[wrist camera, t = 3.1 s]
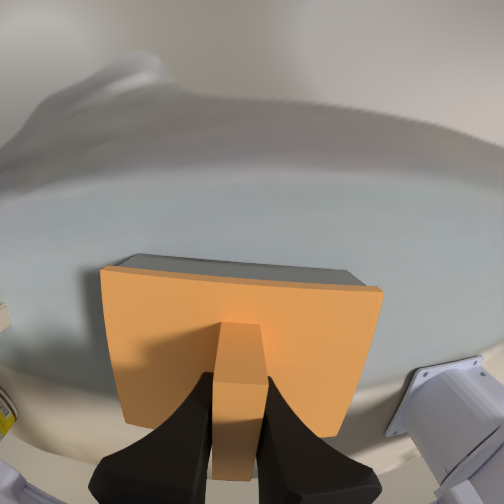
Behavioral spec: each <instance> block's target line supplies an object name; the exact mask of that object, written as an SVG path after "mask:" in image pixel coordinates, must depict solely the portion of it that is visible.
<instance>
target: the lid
mask: <svg viewBox="0 0 504 504" xmlns="http://www.w3.org/2000/svg"><path fill="white" fill-rule="evenodd" d="M100 278H101V291H102V302H103V312H104V320H105V328H106V335H107V341H108V347H109V353H110V359H111V364H112V369H113V374H114V379H115V383H116V388H117V392H118V396H119V400H120V404H121V408H122V412H123V415H124V419H125V422H126V423H128V424H132V425H136V426H141V427H145V428H150V429H156V428H157V427H158V426H160V425H161V424H162V423H163V422H164V421H165V420H167V419H168V418H169V417H170V416H171V415H172V414H173V413H174V412H175V411H176V409H177V408H178V407H179V406H180V405H181V404H182V403H183V401H184V400H185V399H186V398H187V396H188V395H189V394H190V392H191V391H192V390H193V388H194V387H195V385H196V384H197V382H198V380H199V378H200V377H201V374H202V373H203V372H213V373H214V378H213V405H212V479H214V480H227V481H251V476H252V472H253V467H254V462H255V457H256V452H257V447H258V442H259V437H260V431H261V426H262V421H263V415H264V410H265V404H266V398H267V392H268V387H269V383H268V376H270V377H271V378H272V379H273V381H274V383H275V385H276V387H277V388H278V390H279V391H280V393H281V395H282V396H283V398H284V399H285V401H286V402H287V403H288V405H289V406H290V407H291V409H292V410H293V411H294V412H295V414H296V415H297V416H298V417H299V418H300V420H301V421H302V422H303V423H304V424H305V425H306V426H307V427H308V428H309V429H310V430H311V431H312V432H313V433H314V434H315V435H317V436H318V437H319V438H324V437H333V436H337V433H338V431H339V429H340V427H341V424H342V422H343V420H344V417H345V415H346V413H347V410H348V408H349V405H350V403H351V400H352V398H353V395H354V392H355V390H356V387H357V384H358V382H359V379H360V376H361V373H362V370H363V367H364V364H365V361H366V358H367V355H368V352H369V349H370V345H371V342H372V339H373V335H374V332H375V328H376V324H377V321H378V317H379V313H380V309H381V305H382V301H383V297H384V291H382V290H381V289H380V288H378V287H377V286H356V285H336V284H318V283H302V282H287V281H272V280H258V279H245V278H233V277H221V276H209V275H198V274H187V273H177V272H166V271H157V270H147V269H137V268H128V267H119V266H111V265H107V266H106V267H104V268H102V269H101V270H100Z"/></svg>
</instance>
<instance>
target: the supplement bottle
mask: <svg viewBox="0 0 504 504" xmlns="http://www.w3.org/2000/svg"><path fill="white" fill-rule="evenodd" d="M17 418H18V413H17V410H16V408H15V406H14V404H13V403H12V401H11V400H10V399H9V397H8V396H7V395H6V394H5V393H4V392H3V391H2V390H1V389H0V441H1V440H2V439H3V437H4V436H5V435H6V433H7V432H8V431H9V429H10V428H11V427H12V425H13V424H14V423H15V422H16V420H17Z"/></svg>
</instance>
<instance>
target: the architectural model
mask: <svg viewBox="0 0 504 504" xmlns="http://www.w3.org/2000/svg"><path fill="white" fill-rule="evenodd" d="M9 325H11V321H10V317H9V313H8V309H7V306H5V303H2V302H0V332H1V331H2V330H4V329H5V328H7V327H8V326H9Z"/></svg>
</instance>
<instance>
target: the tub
mask: <svg viewBox="0 0 504 504" xmlns="http://www.w3.org/2000/svg"><path fill="white" fill-rule="evenodd" d="M119 267H128V268H137V269H147V270H157V271H166V272H177V273H187V274H198V275H209V276H221V277H233V278H245V279H258V280H272V281H287V282H302V283H318V284H336V285H356V286H366V285H365V284H364V283H362V282H361V281H360V280H359V279H357V278H356V277H355V276H353V275H352V274H351V273H350V272H348V271H347V270H334V269H320V268H307V267H293V266H280V265H267V264H255V263H242V262H230V261H218V260H206V259H194V258H183V257H171V256H160V255H149V254H136V255H135V256H133V257H131V258H130V259H128V260H127V261H125V262H123V263H122V264H120V265H119Z"/></svg>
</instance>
